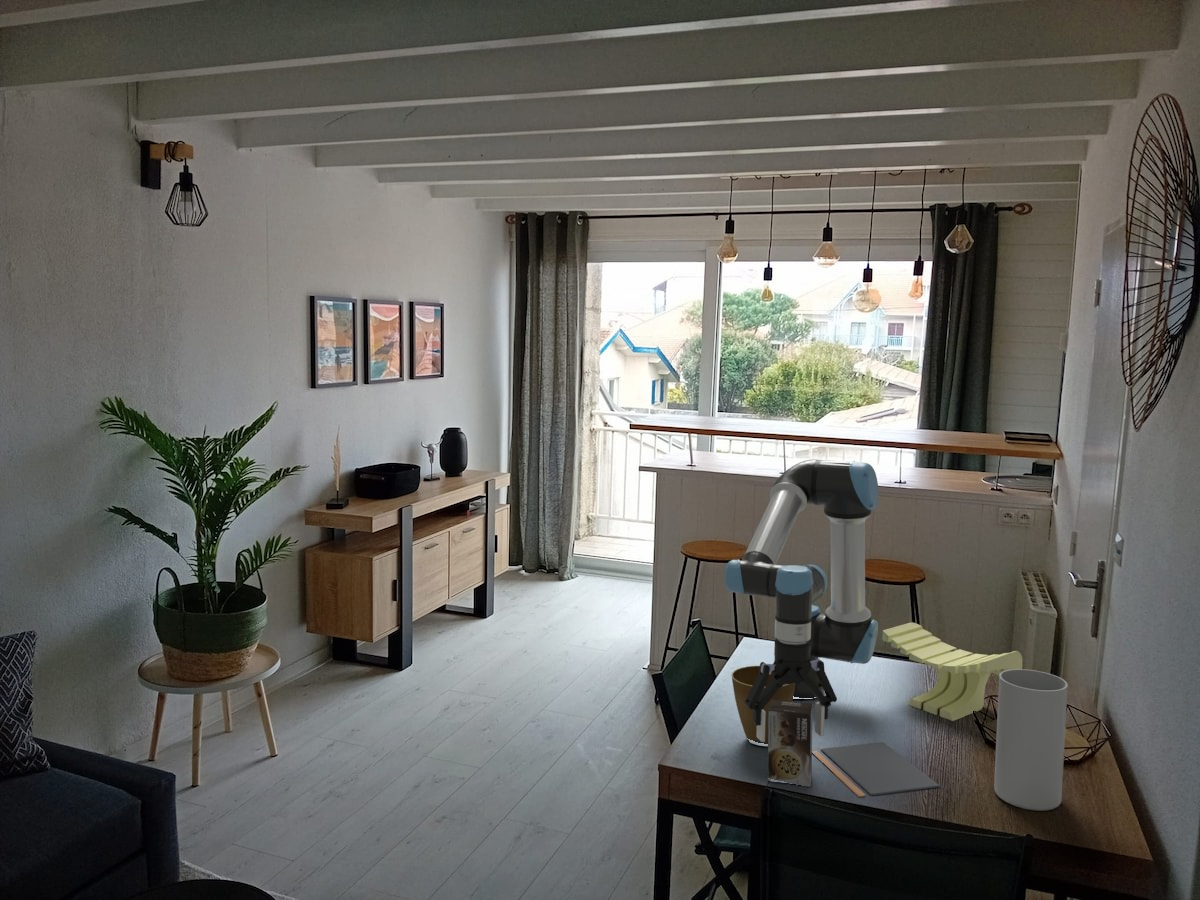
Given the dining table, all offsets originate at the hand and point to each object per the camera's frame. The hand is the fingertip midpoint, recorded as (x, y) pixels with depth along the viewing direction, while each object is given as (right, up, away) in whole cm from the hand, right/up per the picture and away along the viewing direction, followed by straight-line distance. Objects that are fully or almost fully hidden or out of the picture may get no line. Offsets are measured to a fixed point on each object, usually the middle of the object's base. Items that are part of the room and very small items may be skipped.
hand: (790, 736), depth 190 cm
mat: (+21, -9, +6) cm, 23 cm away
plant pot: (-2, -8, +20) cm, 22 cm away
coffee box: (0, -10, +1) cm, 10 cm away
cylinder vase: (+47, -10, -7) cm, 49 cm away
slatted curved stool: (+50, -6, +42) cm, 65 cm away
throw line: (+11, -9, +4) cm, 15 cm away
